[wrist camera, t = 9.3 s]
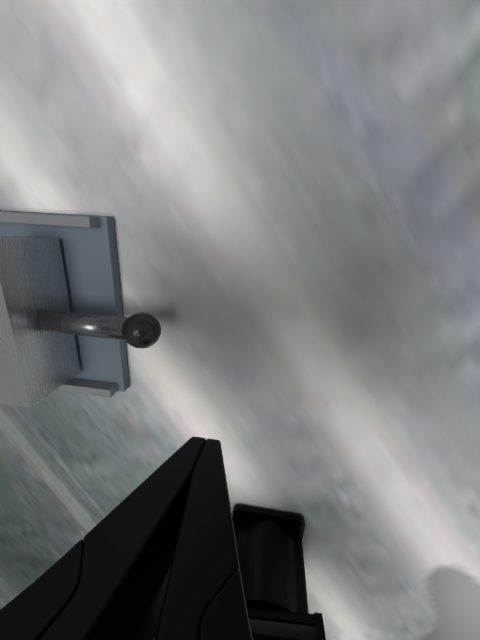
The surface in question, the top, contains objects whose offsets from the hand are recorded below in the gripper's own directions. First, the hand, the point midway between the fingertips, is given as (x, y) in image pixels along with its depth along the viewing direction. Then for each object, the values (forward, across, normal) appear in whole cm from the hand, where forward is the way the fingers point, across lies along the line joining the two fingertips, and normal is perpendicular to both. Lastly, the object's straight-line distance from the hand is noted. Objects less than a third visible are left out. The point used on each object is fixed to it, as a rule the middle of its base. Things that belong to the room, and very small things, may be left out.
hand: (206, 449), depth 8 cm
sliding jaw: (+10, +10, 0) cm, 14 cm away
